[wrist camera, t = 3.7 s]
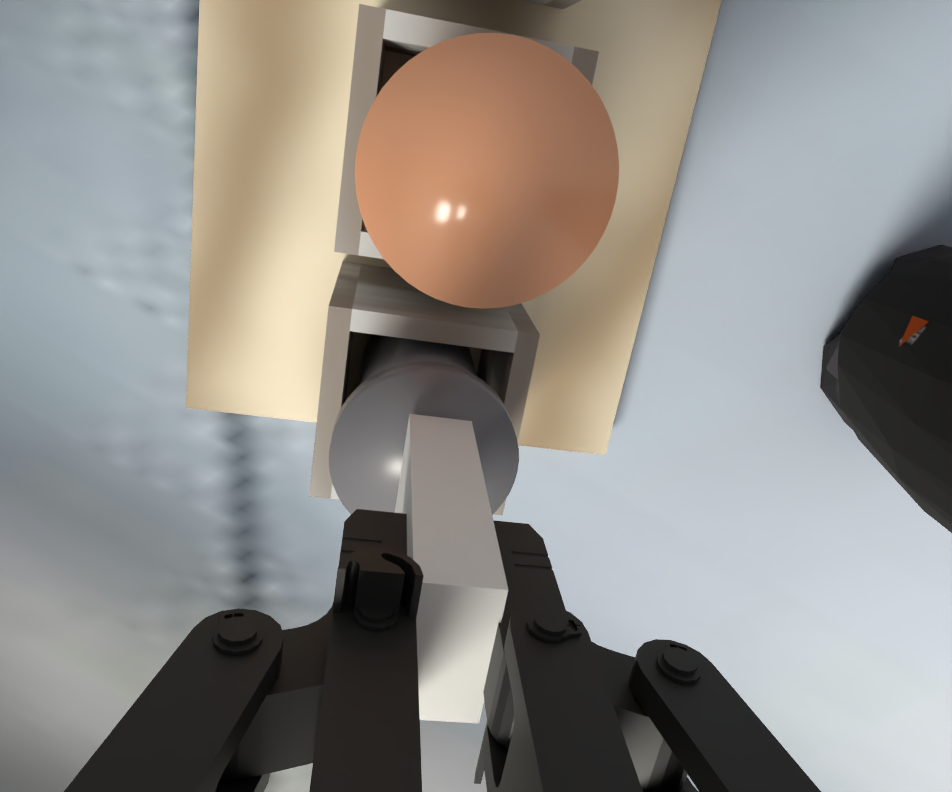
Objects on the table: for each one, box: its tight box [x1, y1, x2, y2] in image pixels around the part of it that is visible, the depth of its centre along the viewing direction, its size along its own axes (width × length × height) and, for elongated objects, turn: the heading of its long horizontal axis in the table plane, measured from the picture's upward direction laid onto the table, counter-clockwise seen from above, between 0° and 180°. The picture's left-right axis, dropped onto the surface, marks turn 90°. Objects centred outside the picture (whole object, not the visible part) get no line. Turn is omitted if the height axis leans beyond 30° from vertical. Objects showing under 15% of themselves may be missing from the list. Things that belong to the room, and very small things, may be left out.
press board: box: [186, 0, 722, 515], centre depth 21 cm, size 15×20×7 cm
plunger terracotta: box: [355, 33, 619, 309], centre depth 16 cm, size 5×5×7 cm
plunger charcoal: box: [329, 334, 519, 515], centre depth 21 cm, size 5×5×7 cm
